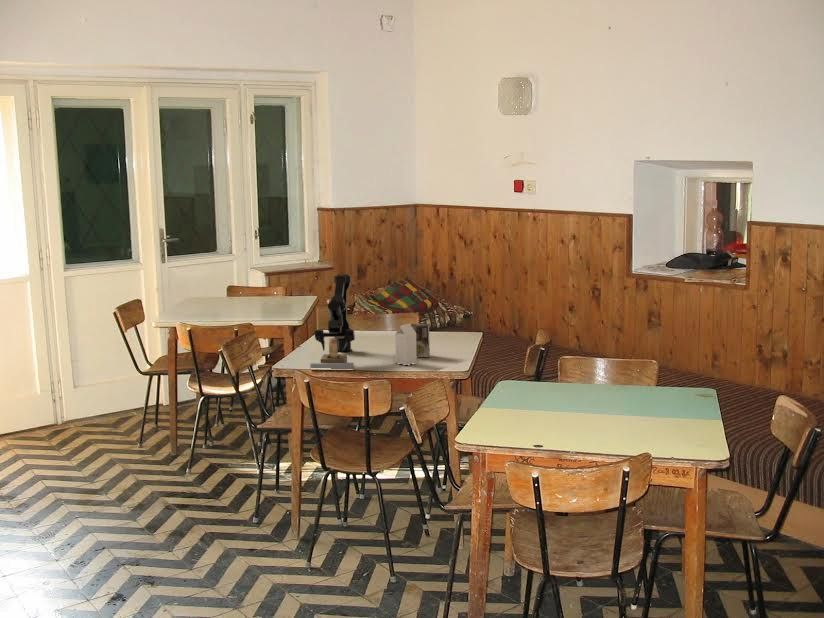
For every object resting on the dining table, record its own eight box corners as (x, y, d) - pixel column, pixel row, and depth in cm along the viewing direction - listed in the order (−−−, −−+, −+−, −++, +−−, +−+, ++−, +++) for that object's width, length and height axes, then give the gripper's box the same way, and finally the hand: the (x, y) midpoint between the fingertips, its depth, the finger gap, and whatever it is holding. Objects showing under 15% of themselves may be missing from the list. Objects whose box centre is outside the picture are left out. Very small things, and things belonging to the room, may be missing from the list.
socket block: (324, 364, 457) (324, 354, 457) (347, 364, 457) (346, 354, 456) (320, 369, 447) (320, 359, 446) (344, 369, 446) (343, 359, 445)
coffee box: (430, 355, 474) (429, 323, 471) (428, 358, 467) (428, 325, 464) (411, 355, 475) (411, 323, 472) (410, 358, 468) (409, 325, 465)
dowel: (328, 364, 452) (327, 338, 450) (336, 364, 453) (335, 337, 451) (331, 366, 448) (330, 339, 446) (339, 365, 450) (338, 338, 448)
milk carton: (416, 363, 456) (416, 324, 453) (406, 366, 451) (405, 326, 448) (405, 361, 461) (405, 322, 458) (395, 364, 456) (394, 325, 453)
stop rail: (311, 370, 447) (311, 362, 446) (353, 370, 446) (353, 362, 445) (310, 371, 445) (310, 363, 444) (353, 371, 444) (353, 363, 443)
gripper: (314, 313, 452) (311, 341, 443) (353, 313, 451) (351, 340, 442) (317, 326, 461) (314, 353, 452) (355, 326, 460) (353, 353, 451)
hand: (333, 350), depth 449 cm, fingers open, 9 cm apart
